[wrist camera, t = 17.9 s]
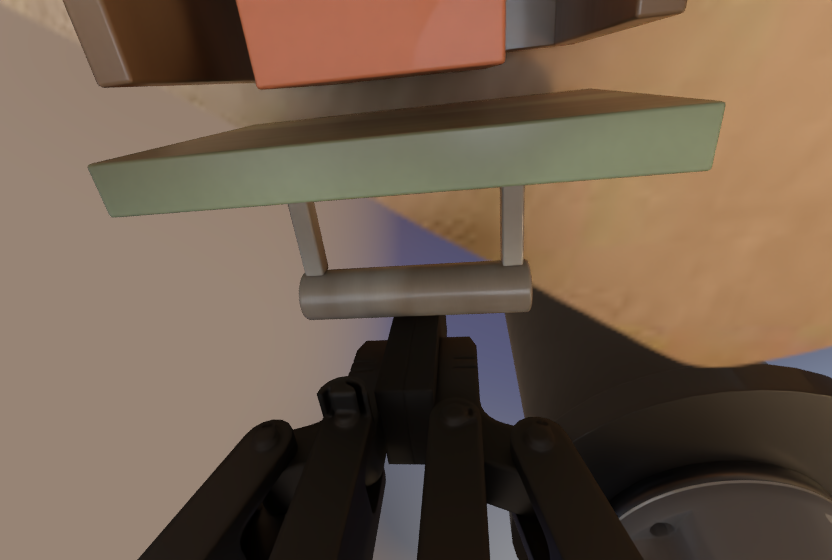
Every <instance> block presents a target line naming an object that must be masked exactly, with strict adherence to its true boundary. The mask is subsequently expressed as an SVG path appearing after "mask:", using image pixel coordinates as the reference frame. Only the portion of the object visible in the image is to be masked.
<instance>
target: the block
mask: <svg viewBox="0 0 832 560" xmlns="http://www.w3.org/2000/svg"><path fill="white" fill-rule="evenodd" d="M236 4H237V8H238V12H239V16H240V20H241V24H242V28H243V32H244V36H245V40H246V45H247V49H248V53H249V57H250V61H251V65H252V69H253V73H254V77H255V81H256V86H257V87H258V89H261V90H263V89H278V88H292V87H307V86H322V85H334V84H343V83H353V82H362V81H372V80H382V79H391V78H401V77H410V76H420V75H429V74H439V73H448V72H458V71H467V70H477V69H486V68H490V67H493V66H497V65H500V64H502V63H504V61H505V43H506V0H236Z"/></svg>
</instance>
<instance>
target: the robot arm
mask: <svg viewBox="0 0 832 560" xmlns="http://www.w3.org/2000/svg"><path fill="white" fill-rule="evenodd" d="M477 365H478V364H477V349H476V345H475V343H474V342H473V341H472V339H471V338H470V337H447V326H446V315H430V316H404V317H394V318H393V322H392V326H391V329H390V334H389V337H388V340H380V341H366V342H365V343H364V344H363V345H362V346H361V347H360V348H359V349H358V350H357V353H356V356H355V359H354V363H353V364H352V367H351V372H350V373H349V375H348V376H345V377H339V378H336V379H333V380H331V381H329V382H328V383H326V384H325V385H324V386H323V387H321V389H320V390H319V391H318V393H317V396H318V400H319V403H320V406H321V410H322V414H323V417H324V418H323V420H322V421H320V422H318V423H315V424H312V425H309V426H305V427H302V428H298V429H294V430H293V429H292V428H291V426H290V425H289V423H288V422H285V421H283V420H270V421H266V422H263V423H261V424H259V425H257V426H256V427H254V428H253V429H252V430H250V431H249V432H248V433H247V434H246V435H245V436H244V437H243V439H242V440H241V441H240V442H239V443H238V444H237V445H236V446H235V448H234V449H233V450H232V451H231V452H230V453H229V455H228V456H227V457H226V458H225V459H224V460H223V462H222V463H221V464H220V465H219V466H218V467H217V468H216V470H215V471H214V472H213V473H212V474H211V475H210V477H209V478H208V479H207V480H206V481H205V482H204V483H203V485H202V486H201V487H200V488H199V489H198V490H197V492H196V493H195V494H194V495H193V496H192V497H191V498H190V500H189V501H188V502H187V503H186V504H185V505H184V507H183V508H182V509H181V510H180V511H179V513H178V514H177V515H176V516H175V517H174V518H173V519H172V520H171V522H170V523H169V524H168V525H167V526H166V527H165V529H164V530H163V531H162V532H161V533H160V534H159V535H158V537H157V538H156V539H155V540H154V541H153V542H152V544H151V545H150V546H149V547H148V548H147V549H146V551H145V552H144V553H143V554H142V555H141V556H140V558H139V559H138V560H372V559H373V552H374V547H375V541H376V536H377V529H378V524H379V518H380V513H381V507H382V501H383V495H384V489H385V483H386V478H385V477H386V476H385V470H384V463H385V458H386V453H387V458H388V462H389V464H425V474H424V485H423V496H422V507H421V519H420V530H419V542H418V553H417V560H490V550H489V534H488V517H487V503H488V504H490V505H493V506H496V507H499V508H502V509H504V510H507V511H510V512H512V516H513V518H514V521H515V524H516V527H517V529H518V532H519V535H520V537H521V540H522V543H523V545H524V548H525V551H526V554H527V556H528V559H529V560H832V496H831V495H830V494H829V493H828V492H827V491H826V490H825V489H824V488H823V487H822V486H820V485H819V484H818V483H817V482H815V481H813V480H812V479H810V478H808V477H807V476H804V475H802V474H800V473H798V472H795V471H792V470H790V469H787V468H783V467H779V466H775V465H770V464H764V463H757V462H747V461H719V462H707V463H699V464H693V465H688V466H683V467H679V468H675V469H671V470H667V471H664V472H661V473H658V474H656V475H653V476H651V477H648V478H646V479H644V480H641V481H639V482H637V483H635V484H634V485H632V486H630V487H628V488H627V489H625V490H624V491H622V492H621V493H619V494H618V495H616V496H615V497H614V498H613V499H612V500H611V501H609V502H608V500H607V498H606V497H605V495H604V494H603V492H602V490H601V489H600V487H599V485H598V484H597V482H596V481H595V479H594V477H593V476H592V474H591V472H590V471H589V469H588V467H587V466H586V464H585V463H584V461H583V459H582V458H581V456H580V454H579V453H578V451H577V449H576V448H575V446H574V445H573V443H572V441H571V440H570V438H569V436H568V435H567V433H566V432H565V431H564V430H563V429H562V428H561V426H560V425H558V424H557V423H555V422H553V421H551V420H549V419H545V418H542V417H528V418H525V419H522V420H520V421H518V422H517V423H516V424H515V425H514V426H513V425H509V424H505V423H502V422H499V421H496V420H495V419H493V418H491V417H490V416H488V414H487V413H485V412H484V410H483V408H482V407H481V403H480V396H479V381H478V380H479V379H478V366H477Z"/></svg>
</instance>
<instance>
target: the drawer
mask: <svg viewBox="0 0 832 560" xmlns="http://www.w3.org/2000/svg"><path fill="white" fill-rule="evenodd" d="M63 2H64V4H65V7H66V9H67V12H68V14H69V17H70V19H71V21H72V24H73V26H74V29H75V31H76V33H77V36H78V38H79V41H80V43H81V46H82V48H83V50H84V53H85V55H86V58H87V60H88V63H89V65H90V67H91V70H92V72H93V75H94V77H95V79H96V82H97V84H98V85H99V86H101V87H104V88H107V87H108V88H109V87H138V86H170V85H200V84H231V83H256V81H255V77H254V73H253V69H252V65H251V61H250V57H249V53H248V49H247V45H246V40H245V36H244V32H243V28H242V24H241V20H240V16H239V12H238V8H237V4H236V0H63ZM686 3H687V0H506V43H505V53H506V52H514V51H522V50H530V49H538V48H546V47H555V46H563V45H571V44H575V43H579V42H582V41H586V40H589V39H593V38H596V37H600V36H604V35H607V34H611V33H614V32H618V31H621V30H625V29H628V28H632V27H636V26H639V25H643V24H646V23H650V22H653V21H657V20H660V19H664V18H668V17H671V16H675V15H678V14H681V13H683V12H684V11H685V8H686ZM724 110H725V102H722V101H715V100H704V99H694V98H683V97H673V96H662V95H652V94H642V93H631V92H621V91H610V90H600V89H583V90H574V91H565V92H555V93H546V94H537V95H528V96H518V97H509V98H500V99H490V100H481V101H472V102H463V103H453V104H444V105H435V106H425V107H416V108H407V109H397V110H388V111H379V112H370V113H360V114H351V115H342V116H332V117H323V118H314V119H305V120H295V121H286V122H277V123H267V124H258V125H252V126H248V127H243V128H239V129H235V130H231V131H227V132H222V133H219V134H214V135H210V136H206V137H201V138H197V139H193V140H189V141H185V142H181V143H176V144H172V145H168V146H164V147H160V148H155V149H151V150H147V151H143V152H139V153H134V154H130V155H126V156H122V157H118V158H113V159H109V160H105V161H101V162H97V163H92V164H90V165H88V170H89V172H90V174H91V176H92V178H93V180H94V182H95V185H96V187H97V189H98V191H99V193H100V196H101V198H102V200H103V202H104V204H105V206H106V209H107V211H108V213H109V215H110V216H111V217H127V216H139V215H152V214H164V213H178V212H190V211H203V210H216V209H227V208H240V207H254V206H267V205H279V204H288V207H289V211H290V215H291V219H292V223H293V227H294V231H295V235H296V238H297V242H298V246H299V250H300V254H301V258H302V262H303V266H304V270H305V273H304V274H303V276H302V278H301V282H300V287H299V301H300V306H301V310H302V313H303V315H304V316H305V317H306V318H307V319H309V320H323V319H349V318H377V317H404V316H430V315H455V314H456V315H457V314H484V313H511V312H528V311H530V309H531V305H532V277H531V270H530V266H529V263H528V261H527V260H525V259H523V251H524V192H525V185H534V184H547V183H559V182H572V181H585V180H598V179H610V178H623V177H636V176H649V175H661V174H674V173H687V172H699V171H708V170H710V169H711V168H712V164H713V159H714V155H715V150H716V146H717V141H718V137H719V132H720V128H721V123H722V119H723V114H724ZM496 187H500V236H501V260H499V261H480V262H463V263H445V264H425V265H408V266H389V267H370V268H352V269H334V270H327V269H328V263H327V259H326V254H325V250H324V246H323V241H322V236H321V232H320V227H319V223H318V218H317V214H316V209H315V205H314V202H317V201H330V200H342V199H355V198H369V197H381V196H394V195H407V194H419V193H432V192H445V191H458V190H470V189H483V188H496Z"/></svg>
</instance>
